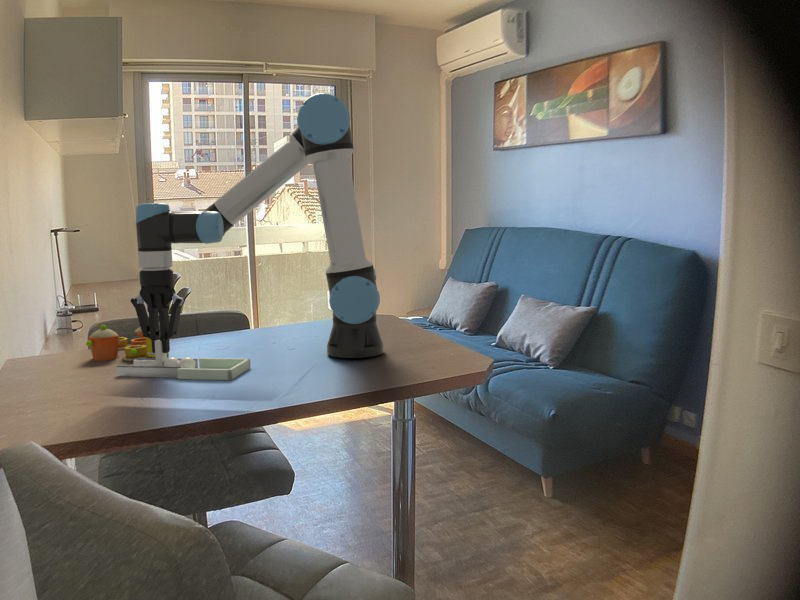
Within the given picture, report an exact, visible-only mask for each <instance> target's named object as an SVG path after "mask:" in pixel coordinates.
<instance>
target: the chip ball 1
mask: <svg viewBox="0 0 800 600" xmlns="http://www.w3.org/2000/svg"><path fill="white" fill-rule="evenodd" d="M178 359H179V358H177V359H176V357H174V356H172V357H169V358H168V359H166V360H165V362H164V365H163V366H177V367H179V360H178Z"/></svg>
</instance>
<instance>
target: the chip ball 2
mask: <svg viewBox="0 0 800 600" xmlns="http://www.w3.org/2000/svg"><path fill="white" fill-rule="evenodd" d="M180 359H181V361H180V362H179V367H184V368H192V369H195V361H194V360H193V359H194V358H192V357H189V356H187V357H182V358H180Z"/></svg>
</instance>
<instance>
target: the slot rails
mask: <svg viewBox="0 0 800 600" xmlns="http://www.w3.org/2000/svg"><path fill="white" fill-rule="evenodd" d="M175 358H176V357H175ZM167 359H168V358H167ZM176 359H178V360H179V362H180V361H181V359H182V358H176ZM192 359H193V360H194V361H195V369H197V368H199V359H198V358H192ZM132 362H133V365H126V364H125V365H118V364H117V365H116V377H129V378H130V377H136V378H137V377H138V378H140V377H141V378H142V377H143V378H177V379H178V375H177V369H178V368H184V367H177V366H156V358H136V360H133V361H132Z"/></svg>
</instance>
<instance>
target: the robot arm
mask: <svg viewBox="0 0 800 600" xmlns="http://www.w3.org/2000/svg"><path fill="white" fill-rule="evenodd" d="M297 113H298V114H297V117H296V119H297V120H296V121H297V122H296V123H297V128H296V129H295V130H293V131H292V132H291V133H289V140H288V141H287V142H285V143H284V144H283V145H282V146H280V147H279V148H278V149H277V150H276V151H274V152H273V153H272V154H271V155H269V157H267V158H266V159H265V160H263V162H261V163H260V164H259V165H258V166H257V167H255V168H254V169H252V170H251V171H250V172H249V173H248V174H246V176H244V177H242V179H241V180H240V181H238V182H237V183H236V184H234V185H233V186H232V187H231V188H229V190H227V191H226V192H225V193H224V194H223V195H221V196H220V197H219V198H218V199H217V200H215V202H213V203H212V204H211V205H209V206H208V207H207V208H206V209H205V210H203V211H202V210H201V211H200V210H199V211H197V210H196V211H195V210H194V211H171V208H170V205H169V203H166V202H165V203H163V202H162V203H161V202H160V203H158V202H157V203H152V202H151V203H150V202H148V203H147V202H145V203H139V204H137V205H136V208H135V227H136V228H135V229H136V240H137V257H138V268H140V270H139V275H138V276H139V285H140V290H139V294H138V295H136V296H135V297H133V298H131V299H130V303H131V304H132V306H133V307H134V309H135V312H136V316H137V319H138V323H139V326H140V327H141V330H142V333H143V336H144V337H147V338H150V339H151V341H152V352H153V353H155V355H156V366H163V365H164V362H165V360H166V359H167V353H168V352H169V353H170V351H171V348H170V339H171V338H173V337H176V336H177V335H178V329H179V323H180V319H181V313H182V308H183V305H184V304H185V302H186V298H185V297H184V296H183V297H181V296H179V295H178V294H176V290H175V289H174V271H173V269H171V268H172V267H173V251H172V250H173V249H172V245H173V244H205V245H208V244H215V243H216V244H217V243H220V242H221V241H223V238H224V236H225V234H226V233H227V232H228V231H229V230H230V229H232V228H233V227H234V226H235V225H236V224H238V222H240V221H241V220H243V218H245V217H246V216H247V215H248V214H250V213H251V212H252V211H253V210H254V209H255V208H257V207H258V206H259V205H260V204H261V203H264V201H266V199H268V198H269V197H271V196H272V194H274V193H275V192H277V190H278V189H280V188H281V187H282V186H283V185H285V184H286V183H288V181H290V180H291V179H293V178H294V176H296V175H297V174H298V173H299V172H301V171H302V170H304V168H305V167H306V166H308V165H313V171H314V176H315V182H316V188H317V193H318V194H317V195H318V201H319V204H320V205H319V206H320V210H321V216H322V223H323V227H324V234H325V240H326V245H327V251H328V257H329V262H330V264H329V266H328V267H327V269H326V270H325V276H326V282H327V286H328V291H329V292H328V293H329V307H330V309H331V311H332V328H331V330H330V334H329V337H328V340H327V344H326V354H327V355H328V356H331V357H336V358H343V359H344V358H346V359H361V358H370V357H375V356H379V355H381V354H383V353H384V343H383V338H382V336H381V333H380V330H379V327H378V324H377V311H378V309H379V307H380V302H381V300H380V299H381V298H380V292H379V291H378V287H377V275H376V274H377V273H376V269H375V267H374V263H372V262H371V261H370V260H368V259H367V257H366V253H365V246H364V241H363V235H362V229H361V224H360V218H359V211H358V206H357V205H358V204H357V199H356V193H355V187H354V181H353V175H352V169H351V164H350V158H351V156H352V155H353V153H354V152H355V149H354V148H355V147H354V142H353V137H352V131H351V130H352V129H351V125H350V124H351V123H350V121H351V116H350V111H349V109H348V107H347V106H346V104H345V103H344V102H343V101H342V100H341V99H340V98H339V97H337V96H335V95H333V94H331V93H324V92H321V93H320V92H319V93H316V94H312V95H311V96H309V97H308V98H306V99H305V100H304V101H303V103H302V104H301V105H300V107H299V110H298V112H297ZM171 302H172V307H171V313H169V312H170V304H171ZM145 304H146V306H145ZM169 314H170V315H169ZM159 324H160V327H159Z"/></svg>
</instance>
